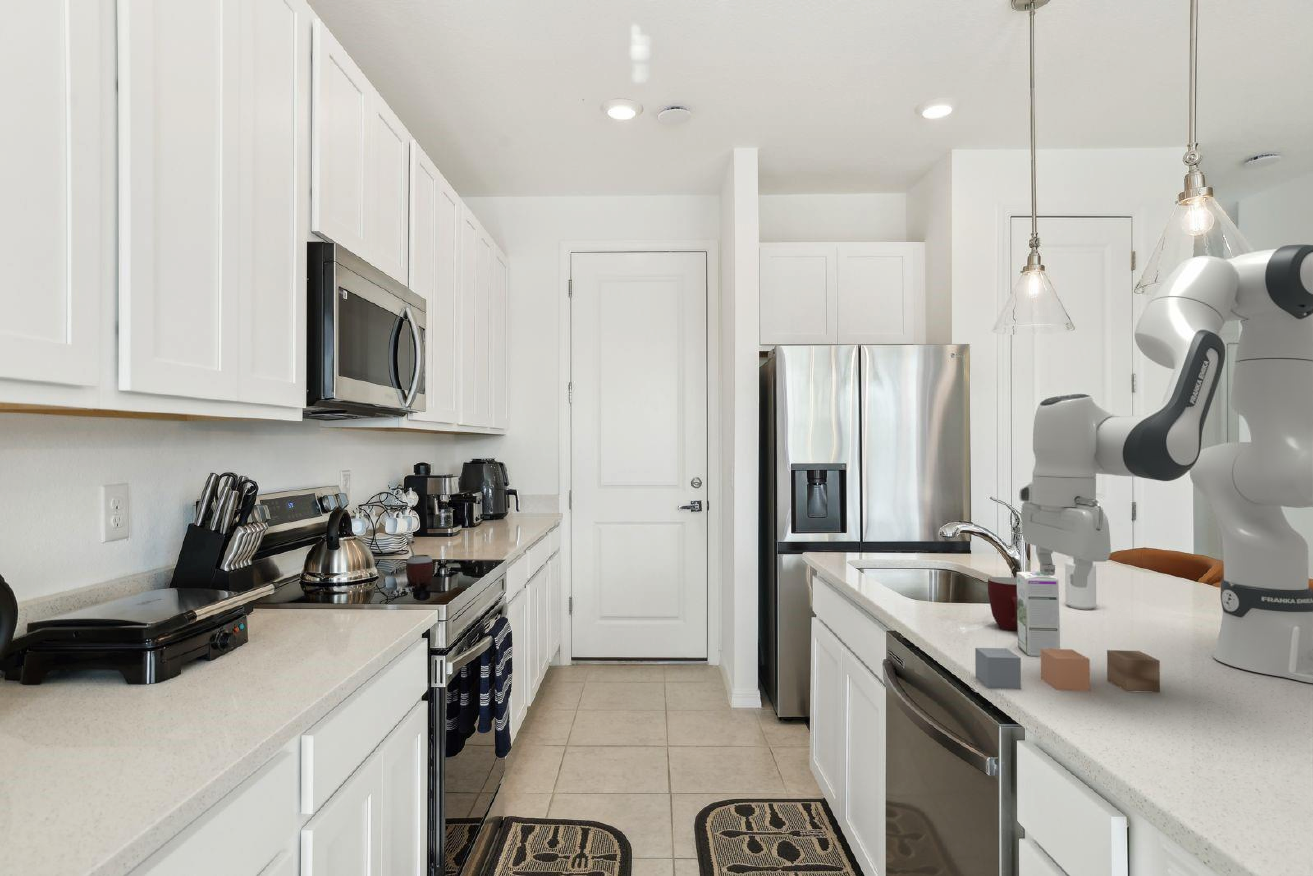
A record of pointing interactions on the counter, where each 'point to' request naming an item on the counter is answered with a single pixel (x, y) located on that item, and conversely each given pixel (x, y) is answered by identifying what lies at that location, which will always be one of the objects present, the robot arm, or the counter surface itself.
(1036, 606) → the syrup box
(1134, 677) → the walnut block
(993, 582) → the mug
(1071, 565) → the white cylinder
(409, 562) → the mate gourd
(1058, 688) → the terracotta block
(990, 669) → the slate block
